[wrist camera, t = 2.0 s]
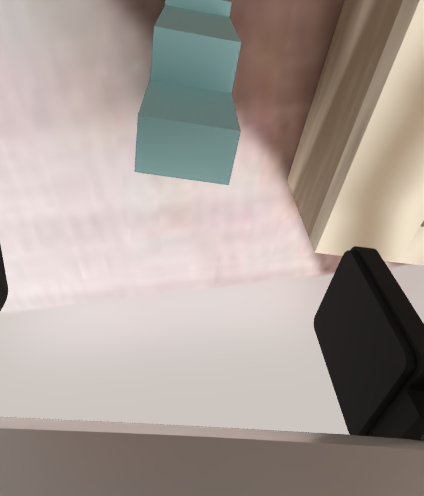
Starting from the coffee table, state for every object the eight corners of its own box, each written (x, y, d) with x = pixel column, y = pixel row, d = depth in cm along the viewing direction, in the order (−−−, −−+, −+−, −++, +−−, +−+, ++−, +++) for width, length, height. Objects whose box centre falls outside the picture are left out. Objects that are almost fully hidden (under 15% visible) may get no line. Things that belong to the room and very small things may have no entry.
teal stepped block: (229, -2, 26) (259, 44, 14) (208, 126, 31) (215, 242, 19) (168, -14, 25) (143, 23, 13) (156, 118, 30) (131, 232, 18)
